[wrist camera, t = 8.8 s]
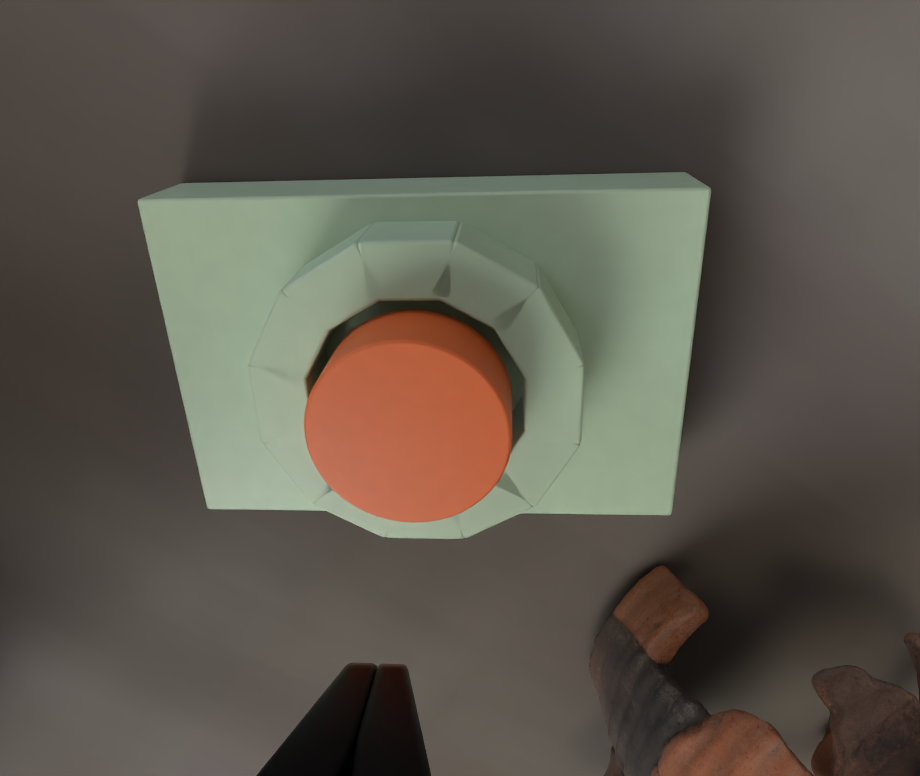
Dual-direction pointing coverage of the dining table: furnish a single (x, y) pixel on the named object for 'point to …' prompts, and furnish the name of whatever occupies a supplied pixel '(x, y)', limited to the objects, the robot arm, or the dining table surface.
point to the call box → (448, 292)
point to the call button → (411, 417)
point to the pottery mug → (733, 732)
